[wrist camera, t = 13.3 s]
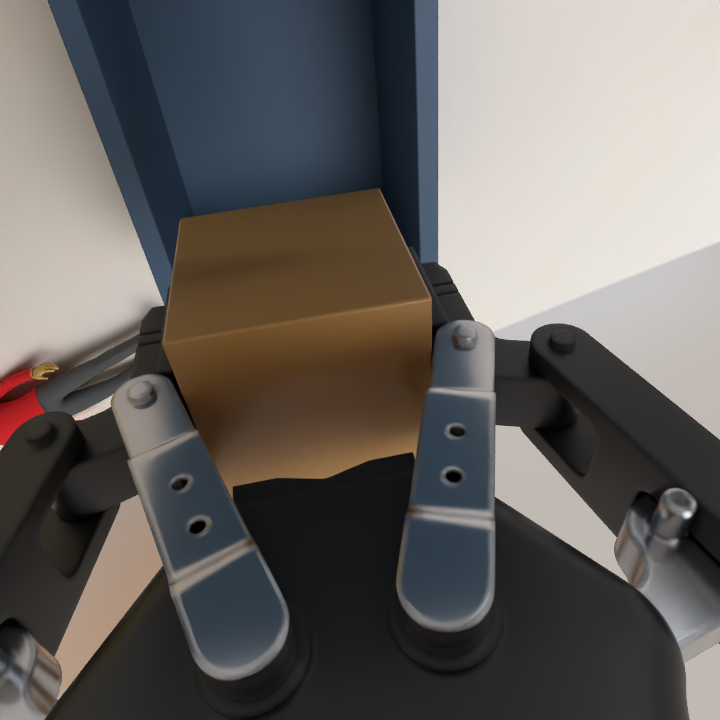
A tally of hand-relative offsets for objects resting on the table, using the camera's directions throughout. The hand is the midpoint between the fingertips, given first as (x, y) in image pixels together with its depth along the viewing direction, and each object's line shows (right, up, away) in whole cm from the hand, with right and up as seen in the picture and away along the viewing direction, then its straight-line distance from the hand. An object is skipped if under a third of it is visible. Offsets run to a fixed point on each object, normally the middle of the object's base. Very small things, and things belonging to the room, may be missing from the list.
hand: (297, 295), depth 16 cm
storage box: (-3, +11, +12) cm, 16 cm away
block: (0, 0, 0) cm, 0 cm away
